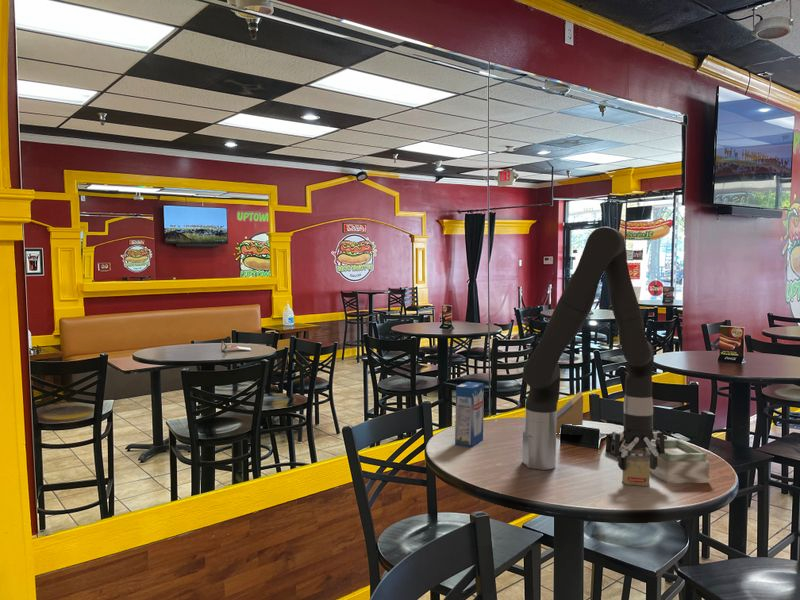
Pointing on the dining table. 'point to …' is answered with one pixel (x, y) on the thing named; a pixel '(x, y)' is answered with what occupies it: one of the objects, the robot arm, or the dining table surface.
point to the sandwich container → (571, 412)
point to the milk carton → (469, 414)
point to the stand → (681, 463)
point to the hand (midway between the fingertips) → (637, 469)
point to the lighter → (637, 468)
